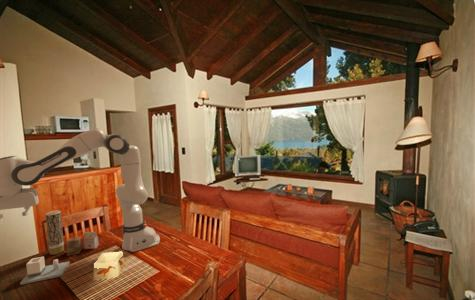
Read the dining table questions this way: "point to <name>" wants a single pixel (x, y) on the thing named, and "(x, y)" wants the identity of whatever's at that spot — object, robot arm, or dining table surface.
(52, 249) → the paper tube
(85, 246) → the grey box
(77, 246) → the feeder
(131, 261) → the dining table surface
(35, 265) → the sleeve
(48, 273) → the pinboard
